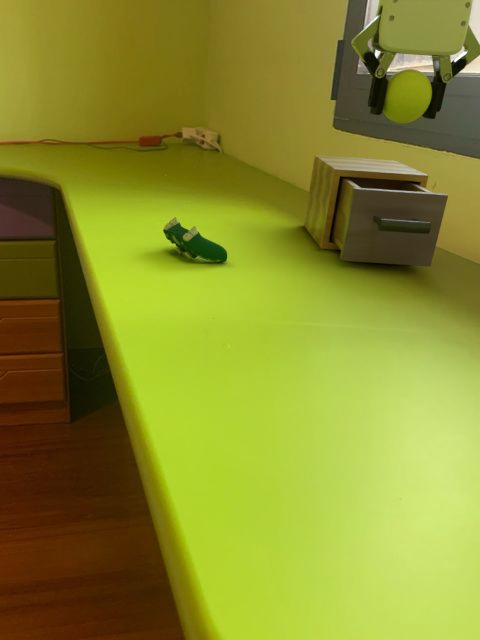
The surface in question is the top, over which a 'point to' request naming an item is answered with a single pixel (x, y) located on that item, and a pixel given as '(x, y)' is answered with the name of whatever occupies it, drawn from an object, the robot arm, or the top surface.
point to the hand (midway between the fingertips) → (402, 114)
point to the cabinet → (328, 182)
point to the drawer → (386, 221)
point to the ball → (407, 96)
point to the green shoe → (193, 242)
